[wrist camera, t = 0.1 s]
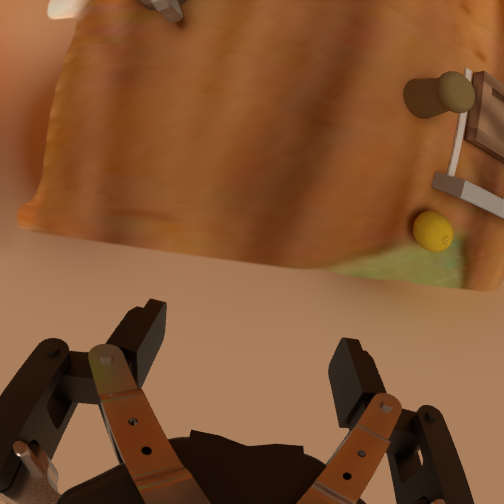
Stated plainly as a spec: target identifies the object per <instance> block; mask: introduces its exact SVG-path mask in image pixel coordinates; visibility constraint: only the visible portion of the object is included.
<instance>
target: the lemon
mask: <svg viewBox="0 0 504 504" xmlns="http://www.w3.org/2000/svg"><path fill="white" fill-rule="evenodd" d="M413 233H414V237H415V239H416V241H417V243H418V244H419V245H420V246H421V247H422V248H424V249H426V250H428V251H431V252H441V251H444V250H445V249H447V248H448V247H449V246H450V244H451V242H452V239H453V228H452V225H451V223H450V222H449V220H448V219H447V218H446V217H445V216H444V215H442V214H441V213H439V212H436V211H425V212H423V213H421V214H420V215H419V216H418V217H417V218H416V219H415V222H414V225H413Z"/></svg>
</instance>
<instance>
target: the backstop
mask: <svg viewBox="0 0 504 504" xmlns="http://www.w3.org/2000/svg"><path fill="white" fill-rule="evenodd" d="M471 74H472V71H471V70H469V69H468V68H465V69H464V76H465V77H466V78H467V79H468V80H469V81H470V82H471ZM466 116H467V112H465V113H459V117H458V123H457V129H456V134H455V139H454V144H453V149H452V153H451V158H450V162H449V166H448V171H447V175H445V174H442V173H438V172H435V175H434V179H433V183H432V186H431V187H433V188H435V189H438V190H440V191H443V192H445V193H448V194H450V195H452V196H455V197H457V198H459V199H462V200H464V201H466V202H468V203H471V204H473V205H475V206H477V207H479V208H481V209H484V210H486V211H488V212H490V213H492V214H494V215H496V216H498V217H500V218H502V219H504V198H503V199H501V198H499V197H497V196H495V195H494V194H492V193H490V192H488V191H486V190H484V189H482V188H480V187H478V186H476V185H474V184H472V183H470V182H468V181H466V180H463V179H460V178H456V177H454V175H455V171H456V167H457V162H458V158H459V153H460V149H461V144H462V139H463V133H464V128H465V122H466Z"/></svg>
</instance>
